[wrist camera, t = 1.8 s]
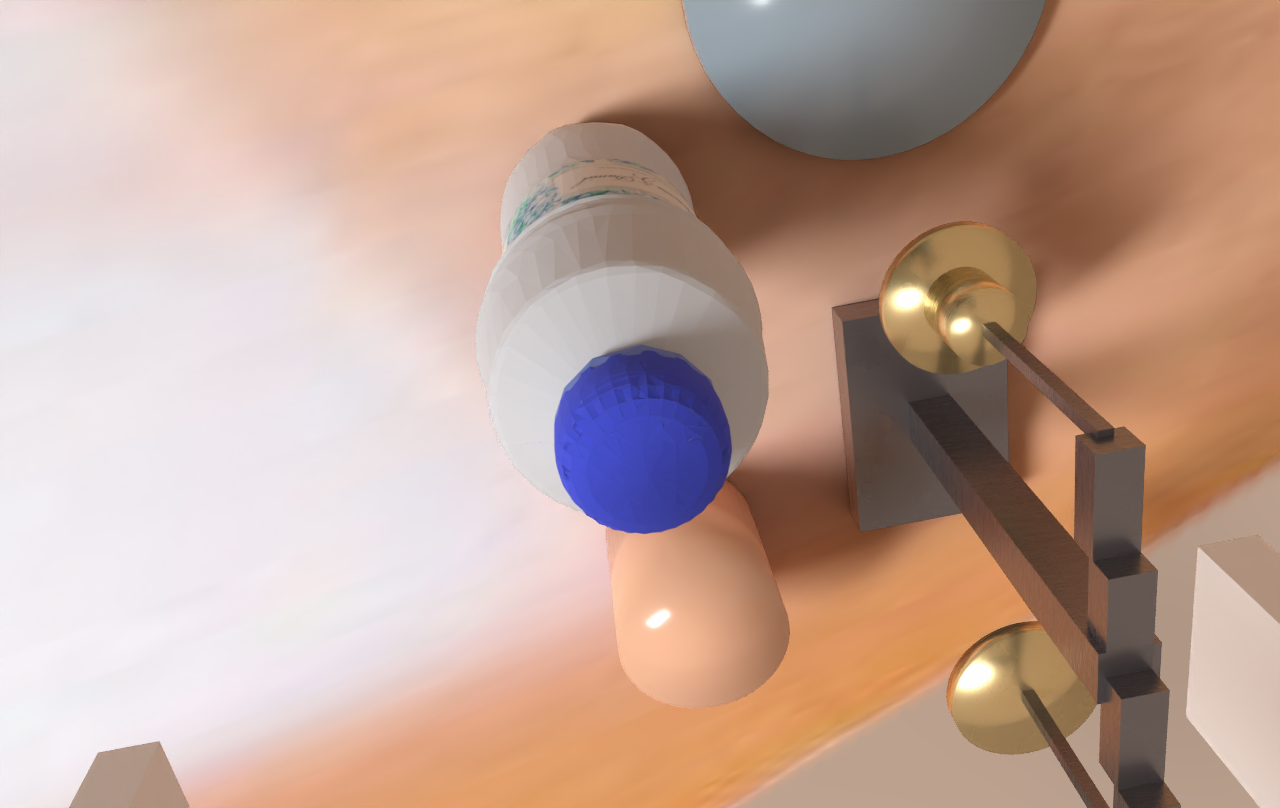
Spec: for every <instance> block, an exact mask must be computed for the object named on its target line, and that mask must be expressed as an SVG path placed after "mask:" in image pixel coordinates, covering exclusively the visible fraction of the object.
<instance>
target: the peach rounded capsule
mask: <svg viewBox="0 0 1280 808" xmlns="http://www.w3.org/2000/svg"><path fill="white" fill-rule="evenodd" d="M606 543H607V552H608V562H609V571H610V580H611V589H612V598H613V608H614V617H615V626H616V635H617V645H618V653H619V658H620V661H621V664H622V667H623V669H624V671H625V673H626V674H627V676H628V677H629V679H630V680H631V681H632V682H633V683H634V684H635V685H636V687H637V688H639V689H640V690H641V691H642V692H644V693H645V694H647V695H648V696H650V697H652V698H653V699H655V700H658V701H660V702H662V703H665V704H669V705H672V706H677V707H682V708H709V707H716V706H720V705H724V704H728V703H731V702H733V701H736V700H738V699H740V698H743V697H745V696H747V695H748V694H750V693H752V692H753V691H755V690H756V689H757V688H759V687H760V686H761V685H763V684H764V683H765V682H766V681H767V680H768V679H769V678H770V677H771V676H772V675H773V673H774V672H775V671H776V670H777V668H778V667H779V665H780V663H781V662H782V660H783V658H784V655H785V653H786V650H787V646H788V643H789V635H790V629H789V620H788V616H787V612H786V610H785V607H784V604H783V601H782V598H781V596H780V593H779V590H778V587H777V584H776V581H775V579H774V576H773V573H772V570H771V567H770V565H769V562H768V559H767V556H766V553H765V550H764V548H763V545H762V542H761V539H760V536H759V534H758V531H757V528H756V525H755V522H754V519H753V517H752V514H751V511H750V508H749V506H748V504H747V502H746V500H745V498H744V497H743V495H742V494H741V493H740V492H739V490H738V489H737V488H736V487H735V486H733V485H732V484H731V483H730V482H728V481H727V480H725V482H724V485H723V487H722V488H721V489H720V491H719V492H718V493H717V494H716V496H715V499H714V500H713V501H712V502H711V503H710V504H709V505H708V506H707V507H706V508H705V510H704V511H703V512H701V513H700V514H699V515H697V516H696V517H695V518H693V519H692V520H691V521H689V522H686V523H684V524H682V525H680V526H678V527H677V528H673V529H669V530H666V531H663V532H657V533H648V534H640V533H626V532H623V531H618V530H613V529H611V528H609V527H607V529H606Z"/></svg>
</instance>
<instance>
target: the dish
mask: <svg viewBox="0 0 1280 808" xmlns="http://www.w3.org/2000/svg"><path fill="white" fill-rule="evenodd" d="M1045 2H1046V0H681V3H682V8H683V13H684V18H685V23H686V28H687V31H688V34H689V37H690V40H691V42H692V45H693V48H694V51H695V53H696V55H697V57H698V59H699V61H700V63H701V65H702V67H703V69H704V71H705V73H706V75H707V76H708V78H709V79H710V81H711V82H712V84H713V85H714V87H715V88H716V90H717V91H718V92H719V93H720V95H721V96H722V97H723V98H724V99H725V100H726V101H727V102H728V104H729V105H730V106H731V107H732V108H733V109H734V110H735V111H736V112H737V113H738V114H739V115H740V116H741V117H742V118H744V119H745V120H746V121H747V122H748V123H749V124H751V125H752V126H753V127H754V128H755V129H757V130H758V131H760V132H762V133H763V134H765V135H766V136H768V137H769V138H771V139H772V140H774V141H776V142H778V143H780V144H783V145H785V146H787V147H789V148H791V149H794V150H796V151H800V152H803V153H806V154H810V155H813V156H817V157H824V158H830V159H837V160H864V159H873V158H881V157H886V156H890V155H894V154H898V153H902V152H906V151H908V150H911V149H913V148H916V147H919V146H921V145H924V144H926V143H928V142H930V141H932V140H934V139H936V138H938V137H940V136H941V135H943V134H945V133H947V132H949V131H950V130H952V129H953V128H954V127H956V126H957V125H959V124H960V123H962V122H963V121H964V120H966V119H967V118H969V117H970V116H971V115H972V114H973V113H974V112H975V111H977V110H978V109H979V108H980V107H981V106H982V105H983V104H984V103H986V102H987V101H988V99H989V98H990V97H991V96H992V95H993V94H994V93H995V92H996V91H997V89H998V88H999V87H1000V86H1001V85H1002V84H1003V83H1004V81H1005V80H1006V79H1007V77H1008V76H1009V74H1010V73H1011V72H1012V70H1013V69H1014V67H1015V66H1016V65H1017V63H1018V62H1019V60H1020V58H1021V57H1022V55H1023V53H1024V51H1025V49H1026V48H1027V46H1028V44H1029V42H1030V41H1031V39H1032V36H1033V34H1034V32H1035V29H1036V27H1037V25H1038V22H1039V20H1040V17H1041V15H1042V12H1043V9H1044V5H1045Z"/></svg>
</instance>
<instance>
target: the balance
mask: <svg viewBox="0 0 1280 808" xmlns="http://www.w3.org/2000/svg"><path fill="white" fill-rule="evenodd" d="M1036 294H1037V284H1036V276H1035V272H1034V268H1033V266H1032V263H1031V261H1030V259H1029V257H1028V255H1027V254H1026V252H1025V251H1024V250H1023V249H1022V247H1021V246H1020V245H1019V244H1018V243H1017V242H1015V241H1014V240H1013V239H1012V238H1010V237H1009V236H1007V235H1006V234H1004V233H1003V232H1001V231H1000V230H998V229H996V228H994V227H992V226H989V225H986V224H982V223H977V222H953V223H948V224H944V225H940V226H938V227H935V228H933V229H930V230H928V231H927V232H925V233H923V234H921V235H920V236H918V237H917V238H915V239H914V240H912V241H911V242H910V243H909V244H908V245H907V246H906V247H904V249H903V250H902V251H901V252H900V253H899V254H898V255H897V257H896V258H895V259H894V261H893V262H892V263H891V265H890V267H889V269H888V271H887V272H886V275H885V277H884V280H883V283H882V286H881V290H880V296H879V299H876V300H871V301H866V302H860V303H855V304H849V305H844V306H839V307H833V308H832V315H833V326H834V337H835V348H836V359H837V370H838V381H839V392H840V403H841V413H842V424H843V435H844V446H845V457H846V468H847V479H848V490H849V501H850V512H851V515H852V516H853V518H854V520H855V522H856V524H857V526H858V528H859V530H860V532H864V531H870V530H875V529H880V528H886V527H891V526H896V525H902V524H907V523H912V522H918V521H923V520H928V519H934V518H939V517H944V516H950V515H955V514H960V513H962V514H963V515H964V517H965V518H966V519H967V521H968V522H969V524H970V525H971V527H972V528H973V529H974V531H975V532H976V534H977V535H978V536H979V538H980V539H981V541H982V542H983V544H984V545H985V546H986V548H987V549H988V551H989V552H990V553H991V555H992V556H993V558H994V559H995V561H996V562H997V563H998V565H999V566H1000V568H1001V569H1002V570H1003V572H1004V573H1005V575H1006V576H1007V578H1008V579H1009V580H1010V582H1011V583H1012V585H1013V586H1014V587H1015V589H1016V590H1017V592H1018V593H1019V595H1020V596H1021V597H1022V599H1023V600H1024V602H1025V603H1026V604H1027V606H1028V607H1029V609H1030V610H1031V612H1032V613H1033V614H1034V616H1035V617H1036V619H1037V620H1038V621H1029V622H1021V623H1016V624H1012V625H1009V626H1006V627H1003V628H1000V629H998V630H996V631H994V632H992V633H990V634H988V635H986V636H985V637H983V638H981V639H980V640H979V641H977V642H976V643H975V644H973V645H972V646H971V647H970V648H969V649H968V650H967V651H966V652H965V653H964V654H963V655H962V657H961V658H960V659H959V661H958V662H957V664H956V665H955V667H954V669H953V671H952V673H951V675H950V678H949V681H948V685H947V696H946V697H947V704H948V708H949V711H950V713H951V715H952V717H953V719H954V721H955V723H956V725H957V727H958V729H959V731H960V732H961V733H962V735H963V736H964V737H965V738H966V739H967V740H968V741H969V742H971V743H972V744H974V745H976V746H977V747H979V748H981V749H983V750H986V751H989V752H993V753H999V754H1024V753H1030V752H1034V751H1038V750H1041V749H1044V748H1047V747H1049V746H1050V747H1051V749H1052V751H1053V752H1054V754H1055V756H1056V757H1057V759H1058V761H1059V762H1060V764H1061V766H1062V767H1063V769H1064V770H1065V772H1066V774H1067V775H1068V777H1069V779H1070V780H1071V782H1072V783H1073V785H1074V787H1075V788H1076V790H1077V792H1078V793H1079V795H1080V796H1081V798H1082V800H1083V801H1084V803H1085V805H1086V806H1087V808H1109V806H1108V805H1107V803H1106V802H1105V800H1104V799H1103V797H1102V795H1101V794H1100V792H1099V791H1098V789H1097V788H1096V786H1095V784H1094V783H1093V781H1092V780H1091V778H1090V777H1089V775H1088V773H1087V772H1086V770H1085V769H1084V767H1083V766H1082V764H1081V763H1080V761H1079V760H1078V758H1077V756H1076V755H1075V753H1074V752H1073V750H1072V749H1071V747H1070V745H1069V744H1068V742H1067V741H1066V739H1065V738H1066V737H1067V736H1069V735H1070V734H1072V733H1073V732H1074V731H1075V730H1077V729H1078V728H1079V727H1080V726H1081V725H1082V724H1083V723H1084V722H1085V721H1086V719H1087V718H1088V717H1089V716H1090V714H1091V713H1092V712H1093V710H1094V708H1095V706H1096V705H1097V704H1101V718H1100V754H1099V763H1100V764H1101V765H1102V767H1103V769H1104V770H1105V772H1106V773H1107V775H1108V776H1109V778H1110V779H1111V781H1112V782H1113V784H1114V800H1113V808H1181V805H1180V803H1179V802H1178V801H1177V799H1176V798H1175V797H1174V795H1173V794H1172V793H1171V791H1170V790H1169V788H1168V787H1167V785H1166V784H1165V783H1164V771H1165V754H1166V739H1167V724H1168V723H1167V722H1168V708H1169V707H1168V706H1169V689H1168V688H1167V687H1166V685H1165V684H1164V683H1163V682H1162V681H1161V679H1160V664H1161V647H1162V642H1161V641H1160V640H1159V639H1158V637H1157V636H1156V635H1155V634H1154V632H1155V614H1156V613H1155V612H1156V593H1157V577H1158V570H1157V569H1156V568H1155V567H1154V566H1153V565H1152V564H1151V563H1150V562H1149V561H1148V560H1147V558H1146V557H1145V556H1144V555H1143V554H1142V553H1141V535H1142V513H1143V491H1144V469H1145V447H1146V445H1145V444H1143V443H1142V442H1141V441H1140V440H1139V439H1138V438H1137V437H1136V436H1134V435H1133V434H1132V433H1131V432H1130V431H1129V430H1128V429H1126V428H1125V427H1120V428H1114V427H1113V426H1112V425H1111V424H1110V423H1108V422H1107V421H1106V420H1105V419H1104V418H1103V417H1102V416H1101V415H1099V414H1098V413H1097V412H1096V411H1095V410H1094V409H1093V408H1092V407H1091V406H1089V405H1088V404H1087V403H1086V402H1085V401H1084V400H1083V399H1082V398H1080V397H1079V396H1078V395H1077V394H1076V393H1075V392H1074V391H1073V390H1071V389H1070V388H1069V387H1068V386H1067V385H1066V384H1065V383H1064V382H1063V381H1061V380H1060V379H1059V378H1058V377H1057V376H1056V375H1055V374H1054V373H1052V372H1051V371H1050V370H1049V369H1048V368H1047V367H1046V366H1045V365H1044V364H1042V363H1041V362H1040V361H1039V360H1038V359H1037V358H1036V357H1035V356H1033V355H1032V354H1031V353H1030V352H1029V351H1028V350H1027V349H1026V348H1025V347H1023V346H1022V345H1021V344H1022V342H1023V340H1024V338H1025V336H1026V333H1027V329H1028V323H1029V321H1030V319H1031V316H1032V313H1033V310H1034V307H1035V302H1036ZM1007 360H1008V361H1009V362H1010V363H1011V364H1012V365H1014V366H1015V367H1016V368H1017V369H1018V370H1019V371H1020V372H1021V373H1022V374H1023V375H1024V376H1025V377H1026V378H1027V379H1028V380H1029V381H1030V382H1031V383H1032V384H1033V385H1035V386H1036V387H1037V388H1038V389H1039V390H1040V391H1041V392H1042V393H1043V394H1044V395H1045V396H1046V397H1047V398H1048V399H1049V400H1050V401H1051V402H1052V403H1053V404H1054V405H1056V406H1057V407H1058V408H1059V409H1060V410H1061V411H1062V412H1063V413H1064V414H1065V415H1066V416H1067V417H1068V418H1069V419H1070V420H1071V421H1072V422H1073V423H1074V424H1075V425H1077V426H1078V427H1079V428H1080V429H1081V430H1082V431H1083V432H1084V433H1085V434H1082V435H1077V436H1076V445H1075V519H1074V539H1073V538H1072V537H1071V536H1070V534H1069V533H1068V532H1067V531H1066V530H1065V529H1064V527H1063V526H1062V525H1061V524H1060V523H1059V522H1058V520H1057V519H1056V518H1055V517H1054V516H1053V515H1052V513H1051V512H1050V511H1049V510H1048V509H1047V508H1046V506H1045V505H1044V504H1043V503H1042V502H1041V501H1040V499H1039V498H1038V497H1037V496H1036V495H1035V494H1034V492H1033V491H1032V490H1031V489H1030V488H1029V487H1028V485H1027V484H1026V483H1025V482H1024V481H1023V479H1022V478H1021V477H1020V476H1019V475H1018V474H1017V472H1016V471H1015V470H1014V469H1013V468H1012V467H1011V465H1010V464H1009V443H1008V384H1007ZM1076 542H1077V543H1078V544H1077V543H1076ZM1081 548H1082V549H1083V550H1082V549H1081ZM1087 555H1088V556H1089V557H1088V556H1087Z"/></svg>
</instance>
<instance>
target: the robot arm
mask: <svg viewBox="0 0 1280 808" xmlns="http://www.w3.org/2000/svg"><path fill="white" fill-rule="evenodd" d="M1191 639H1192V640H1191V653H1190V667H1189V682H1188V696H1187V710H1186V717H1187V718H1188V719H1189V720H1190V722H1191V723H1192V724H1193V725H1194V727H1195V728H1196V729H1197V730H1198V732H1199V733H1200V734H1201V735H1202V737H1203V738H1204V739H1205V740H1206V741H1207V743H1208V744H1209V745H1210V746H1211V747H1212V749H1213V750H1214V751H1215V752H1216V754H1217V755H1218V756H1219V757H1220V759H1221V760H1222V761H1223V762H1224V764H1225V765H1226V766H1227V767H1228V769H1229V770H1230V771H1231V772H1232V773H1233V775H1234V776H1235V777H1236V778H1237V780H1238V781H1239V782H1240V783H1241V785H1242V786H1243V787H1244V788H1245V789H1246V791H1247V792H1248V793H1249V794H1250V796H1251V797H1252V798H1253V799H1254V801H1255V802H1256V803H1257V804H1258V805H1259V807H1260V808H1280V553H1278V552H1277V551H1276V550H1275V549H1274V548H1272V547H1271V546H1270V545H1269V544H1268V543H1267V542H1265V541H1264V540H1263V539H1262V538H1261V537H1260V536H1258V535H1255V536H1250V537H1245V538H1239V539H1234V540H1228V541H1223V542H1218V543H1213V544H1207V545H1202V546H1198V552H1197V566H1196V582H1195V596H1194V609H1193V624H1192V638H1191ZM69 808H190V807H189V804H188V802H187V800H186V798H185V796H184V794H183V791H182V789H181V787H180V785H179V783H178V781H177V778H176V776H175V774H174V772H173V770H172V768H171V765H170V763H169V761H168V759H167V757H166V755H165V752H164V750H163V748H162V746H161V744H160V742H159V741H158V742H153V743H148V744H142V745H137V746H132V747H126V748H121V749H116V750H110V751H105V752H100V753H98V754H97V756H96V758H95V760H94V762H93V763H92V765H91V767H90V769H89V771H88V773H87V775H86V777H85V779H84V780H83V782H82V784H81V786H80V788H79V790H78V792H77V794H76V796H75V797H74V799H73V801H72V803H71V805H70V807H69Z"/></svg>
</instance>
